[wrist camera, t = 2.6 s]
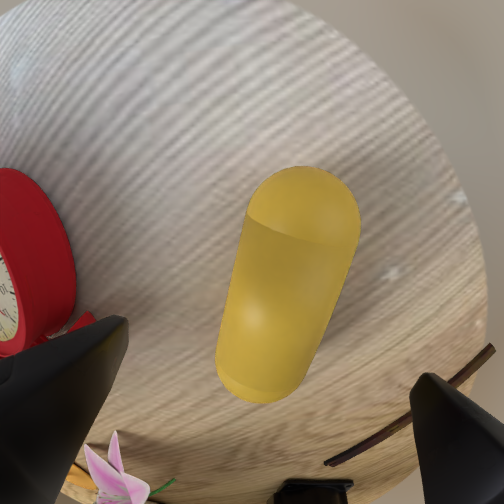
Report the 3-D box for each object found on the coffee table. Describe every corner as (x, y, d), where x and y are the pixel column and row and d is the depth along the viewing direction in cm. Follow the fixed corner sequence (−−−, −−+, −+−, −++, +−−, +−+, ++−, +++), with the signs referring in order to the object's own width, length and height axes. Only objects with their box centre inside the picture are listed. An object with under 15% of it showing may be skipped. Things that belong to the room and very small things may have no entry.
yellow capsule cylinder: (356, 178, 12) (394, 193, 8) (290, 368, 15) (294, 427, 11) (260, 152, 11) (258, 154, 8) (215, 354, 15) (202, 411, 11)
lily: (195, 423, 18) (91, 490, 10) (239, 523, 18) (173, 590, 9) (107, 406, 24) (28, 438, 15) (148, 493, 23) (87, 533, 15)
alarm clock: (-24, 113, 7) (90, 453, 8) (59, 133, 13) (149, 382, 15) (-82, 215, 9) (-4, 436, 10) (-20, 210, 15) (48, 396, 16)
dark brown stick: (323, 461, 18) (331, 464, 19) (324, 465, 18) (331, 468, 18) (490, 341, 14) (493, 348, 14) (493, 345, 14) (496, 351, 14)
